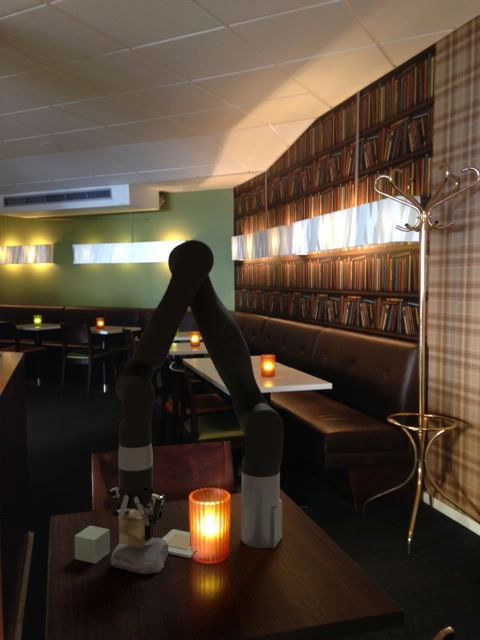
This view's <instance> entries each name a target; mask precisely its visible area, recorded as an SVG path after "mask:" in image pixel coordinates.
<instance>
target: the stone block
mask: <svg viewBox="0 0 480 640" xmlns="http://www.w3.org/2000/svg"><path fill="white" fill-rule="evenodd" d="M168 555H169V554H168V543H167V542H166V540H163V539H162V538H161V537H153V538H151V539H150V540H149V541H148V542H147V543H146V544H145V545H143V546H142V547H141V548H140V547H135V546H130V545H126V544H121V543H118V544H117V545H116V546H115V548H114V549H113V552H112V553H111V557H110V565H111V566H112V567H114V568H118V569H121V570H126V571H129V572H132V573H137V574H141V575H147V574H156V573H159V572H160V571H162V569H163V568H164V566H165V565H164V564H165V561H166V560H167V558H168Z"/></svg>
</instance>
